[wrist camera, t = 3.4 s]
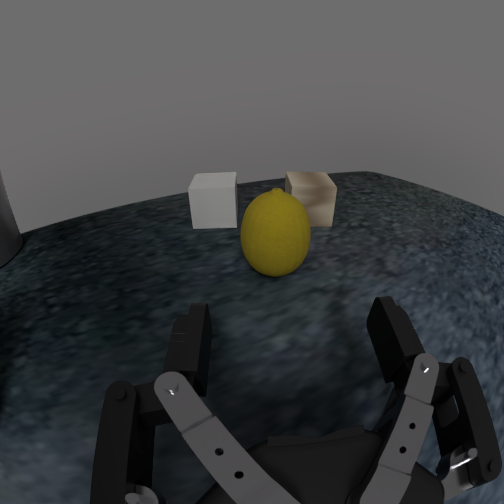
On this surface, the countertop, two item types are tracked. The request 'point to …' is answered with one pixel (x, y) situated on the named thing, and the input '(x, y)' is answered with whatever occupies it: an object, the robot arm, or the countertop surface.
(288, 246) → the lemon
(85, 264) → the countertop surface
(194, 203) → the off-white block
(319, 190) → the birch block
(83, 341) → the countertop surface
